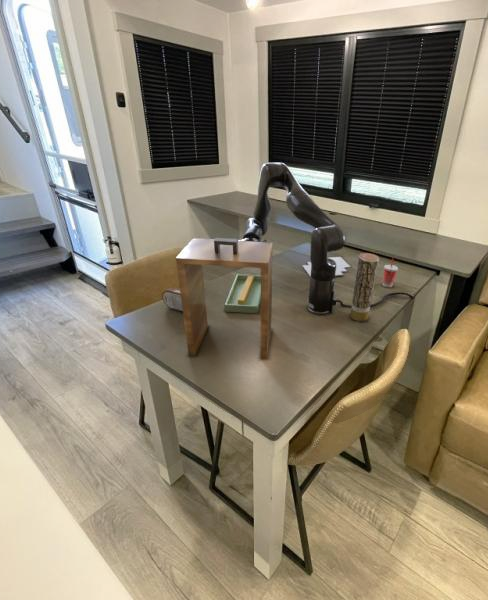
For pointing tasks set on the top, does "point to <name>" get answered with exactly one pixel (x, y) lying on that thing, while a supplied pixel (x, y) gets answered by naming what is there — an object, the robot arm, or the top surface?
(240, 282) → the tray
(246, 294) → the rod
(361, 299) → the bark covered firewood piece
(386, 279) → the beverage cup
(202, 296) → the shelf stand
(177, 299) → the tin
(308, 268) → the paper stack
